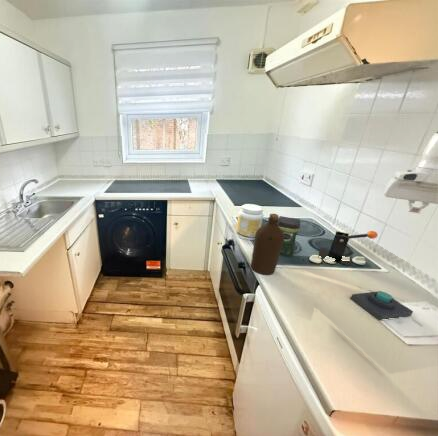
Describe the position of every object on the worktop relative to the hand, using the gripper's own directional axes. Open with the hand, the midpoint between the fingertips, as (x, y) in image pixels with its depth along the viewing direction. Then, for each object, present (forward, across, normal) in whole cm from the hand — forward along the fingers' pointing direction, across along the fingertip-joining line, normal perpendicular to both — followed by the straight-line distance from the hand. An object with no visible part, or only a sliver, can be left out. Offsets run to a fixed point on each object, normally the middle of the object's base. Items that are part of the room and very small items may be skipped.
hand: (413, 212), depth 90 cm
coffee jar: (+28, +38, +9) cm, 48 cm away
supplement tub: (+28, +56, -2) cm, 63 cm away
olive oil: (+27, +43, +27) cm, 58 cm away
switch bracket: (+27, +17, +1) cm, 32 cm away
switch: (+15, +12, +1) cm, 20 cm away
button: (+23, +6, +30) cm, 38 cm away
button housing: (+27, +6, +30) cm, 40 cm away
